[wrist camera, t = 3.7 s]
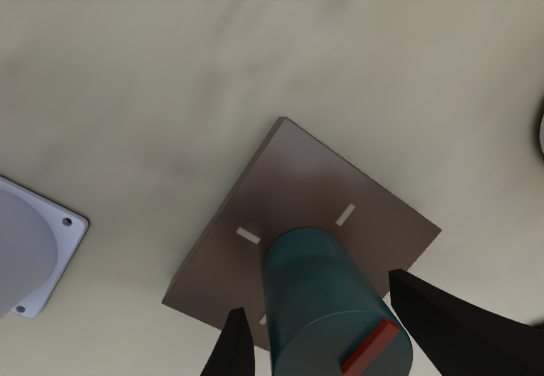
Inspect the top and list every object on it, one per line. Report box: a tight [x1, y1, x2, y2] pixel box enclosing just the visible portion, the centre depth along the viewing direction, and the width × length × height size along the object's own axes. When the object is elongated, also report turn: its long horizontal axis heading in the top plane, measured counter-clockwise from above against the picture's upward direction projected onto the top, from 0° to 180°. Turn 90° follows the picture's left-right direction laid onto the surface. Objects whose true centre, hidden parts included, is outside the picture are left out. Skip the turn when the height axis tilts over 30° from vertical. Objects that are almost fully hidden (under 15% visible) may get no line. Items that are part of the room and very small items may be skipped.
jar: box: [262, 228, 413, 376], centre depth 12 cm, size 5×5×7 cm
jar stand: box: [162, 117, 442, 351], centre depth 16 cm, size 13×12×2 cm
